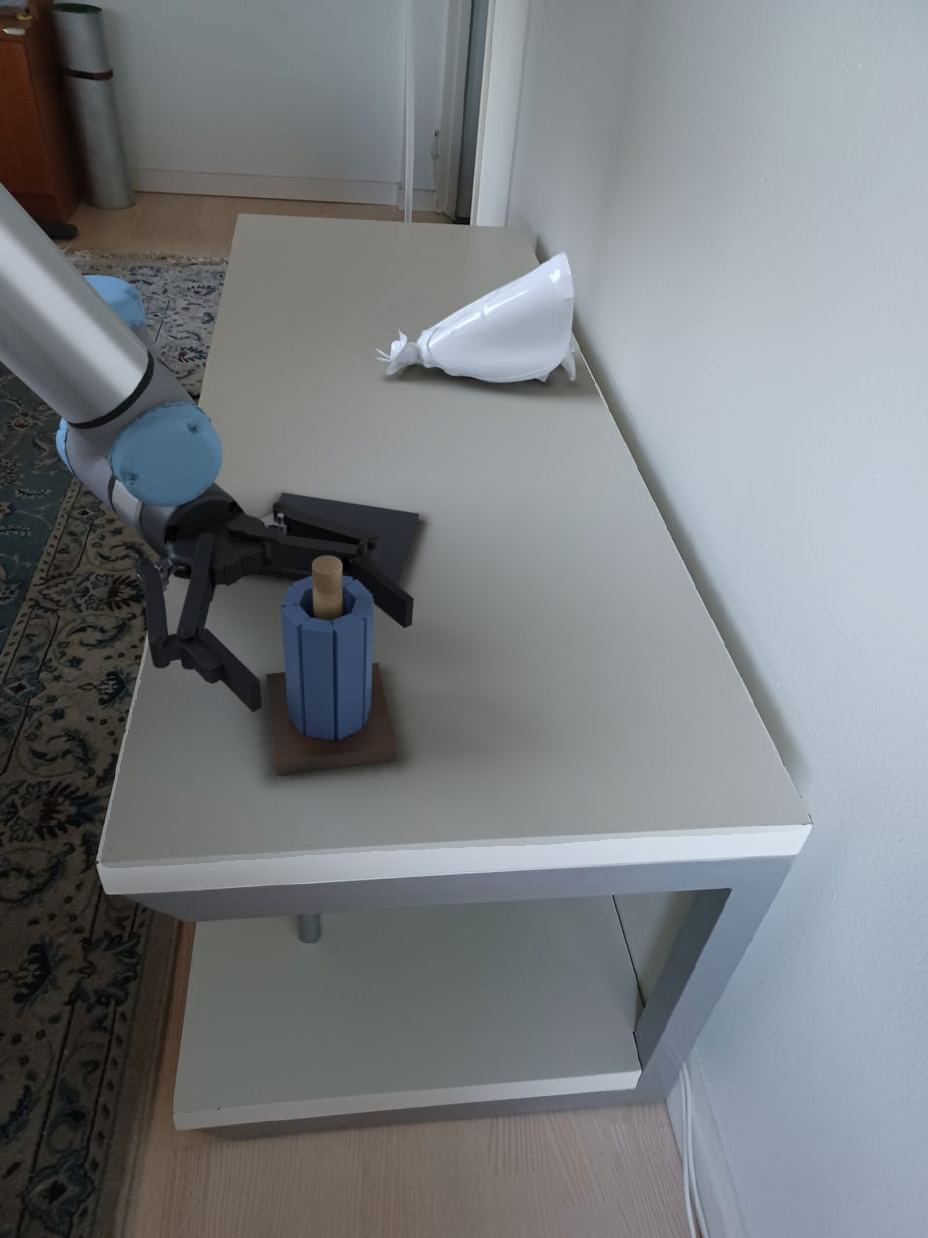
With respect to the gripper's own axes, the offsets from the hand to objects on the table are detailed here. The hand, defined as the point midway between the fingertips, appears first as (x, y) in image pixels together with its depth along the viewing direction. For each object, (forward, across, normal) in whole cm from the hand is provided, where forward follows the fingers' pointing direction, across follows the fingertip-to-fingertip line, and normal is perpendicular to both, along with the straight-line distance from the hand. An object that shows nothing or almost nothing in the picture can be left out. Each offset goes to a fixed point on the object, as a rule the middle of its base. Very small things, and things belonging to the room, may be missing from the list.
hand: (337, 653), depth 64 cm
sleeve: (-1, 0, -6) cm, 7 cm away
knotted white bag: (-37, -50, -8) cm, 63 cm away
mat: (-18, -14, -8) cm, 24 cm away
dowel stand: (-1, 0, -8) cm, 8 cm away
